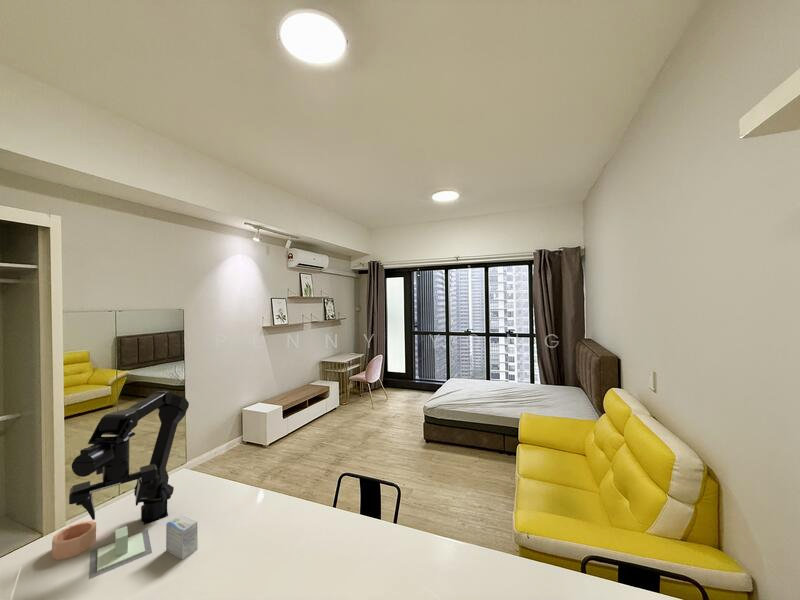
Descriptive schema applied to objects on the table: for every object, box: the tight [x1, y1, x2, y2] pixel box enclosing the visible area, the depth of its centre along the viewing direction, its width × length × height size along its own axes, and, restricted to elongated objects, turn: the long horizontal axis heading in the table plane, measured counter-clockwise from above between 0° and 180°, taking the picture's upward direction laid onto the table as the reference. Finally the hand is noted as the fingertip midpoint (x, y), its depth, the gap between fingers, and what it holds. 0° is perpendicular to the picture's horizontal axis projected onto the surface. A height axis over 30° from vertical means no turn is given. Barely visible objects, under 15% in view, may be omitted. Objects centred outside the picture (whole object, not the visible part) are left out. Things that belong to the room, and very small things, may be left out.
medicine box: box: [165, 514, 199, 560], centre depth 93 cm, size 8×4×9 cm, turn 65°
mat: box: [88, 528, 153, 580], centre depth 92 cm, size 13×13×1 cm
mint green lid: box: [97, 525, 145, 572], centre depth 92 cm, size 10×10×6 cm
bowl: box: [51, 520, 97, 561], centre depth 94 cm, size 9×9×5 cm
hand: (115, 511), depth 92 cm, fingers open, 9 cm apart
